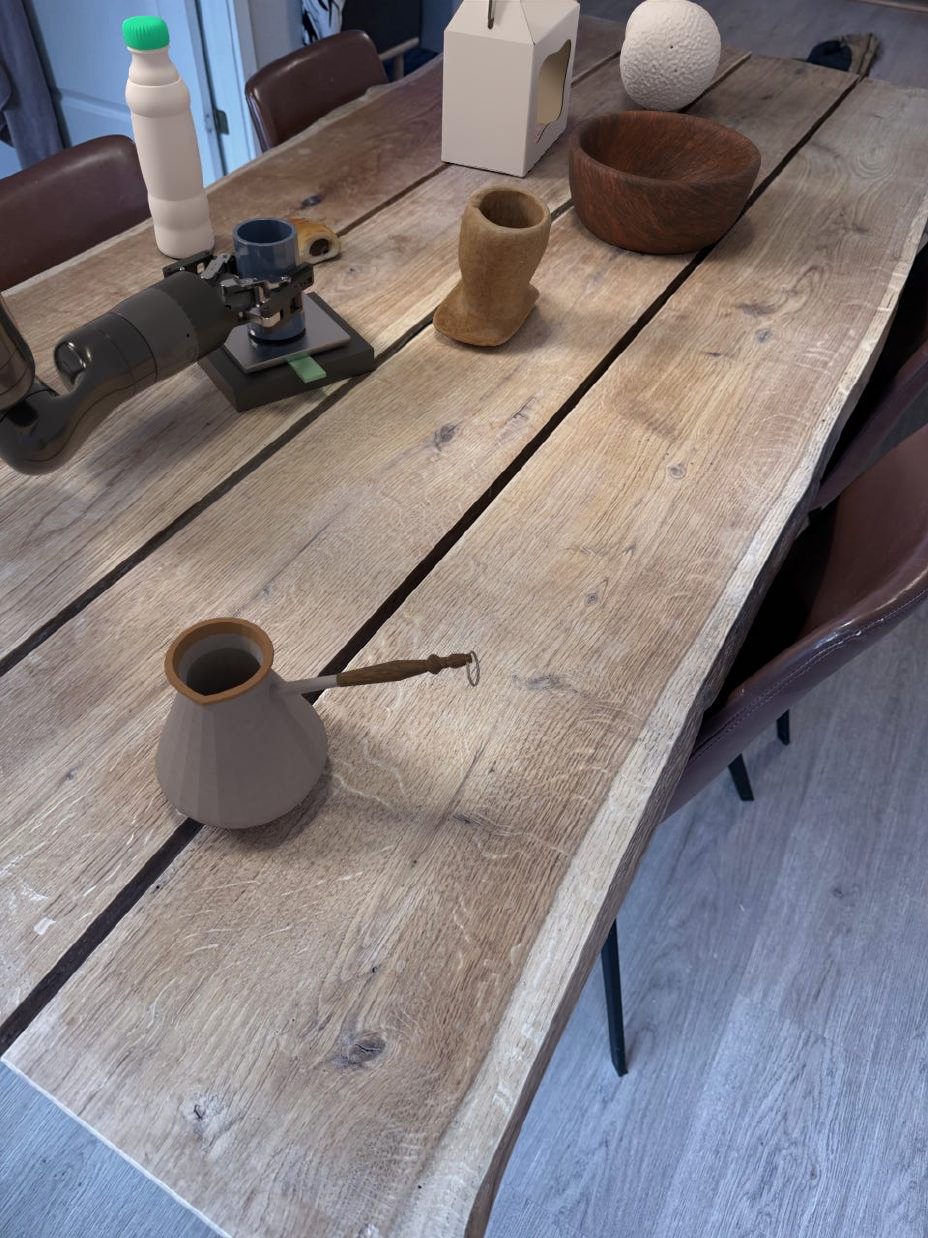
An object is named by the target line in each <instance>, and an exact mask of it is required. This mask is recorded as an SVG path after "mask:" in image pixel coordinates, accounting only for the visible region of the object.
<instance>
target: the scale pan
mask: <svg viewBox="0 0 928 1238" xmlns="http://www.w3.org/2000/svg"><path fill="white" fill-rule="evenodd" d="M303 299H304V309H305V321H306V325H305V328H304V329H303V331H302V332H301V333H299V334H298V335H296V336H293V337H291V338H287V339H282V340H266V339H261V338H258V337H256V336H254V335H252V334H251V333H250V332H249V331H248V330H247V328H246V324H245V325H241V326H237V327H235V328H233V329H232V331H231V333H230V334H229V336H228V338H227V341H226V342H225V344H224V345H223V346H222V347H223V348H224V349H225V350H226V352H227V353H228V354H229V355H230V356H231V357H232V359H233V360H234V361H235V362H236V363H237V364H238V366H239V367H240V368H241V369H242V370H243V371H244V373H245V374H248V373H252V372H255V371H259V370H262V369H265V368H269V367H272V366H275V365H279V364H282V363H285V362H289V361H292V360H295V359H299V358H302V357H305V356H309V355H312V354H315V353H319V352H322V351H325V350H329V349H332V348H336V347H339V346H342V345H346V344H349V343H351V340H350V336H349V335H348V334H347V333H346V332H345V331H344V330H343V329H342V328H341V327H340V326H339V325H338V324H337V323H336V322H335V321H334V320H333V319H332V318H330V317H329V316H328V315H327V314H326V313H325V312H324V311H323V310H322V309H321V308H320V307H319V306H318V305H317V304H316V303H315V302H314V301H313V300H312V299H311V298H310V297H309V296H308V295H307V294H306V292H305V291H303Z"/></svg>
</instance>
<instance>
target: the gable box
mask: <svg viewBox="0 0 928 1238" xmlns="http://www.w3.org/2000/svg"><path fill="white" fill-rule="evenodd" d="M580 10H581V4H580V3H579V1H578V0H462V2H461V4H460V6H459V7H458V9H457V10H456V12H455V13H454V15H453V17H452V18H451V20H450V21H449V23H448V24H447V26H446V27H445V28H444V29H443V30H444V31H443V66H442V67H443V69H442V70H443V71H442V74H443V75H442V115H441V116H442V119H441V122H442V123H441V157H440V159H441V161H442V162H443V161H446V162H450V163H455V164H456V163H457V164H464V165H471V166H477V167H485V168H488V169H493V170H498V171H502V172H506V173H510V174H514V175H519V176H522V177H523V176H524V177H526V176H527V174H528V173H529V172H530V171H531V169H532V168H534V166H535V165H536V164H537V163H538V161H539V160H541V158H542V157H543V156H544V155H545V154H546V152H547V151H548V150H549V149H550V148H551V147H552V145H553V144H554V143H555V142H556V141H557V139H558V138H559V137H560V136H561V135H562V134H563V132H564V131H565V130H566V129H567V122H568V113H569V104H570V98H571V97H570V96H571V87H572V79H573V72H574V62H575V55H576V54H575V53H576V46H577V45H576V44H577V37H578V29H579V19H580ZM536 122H538V123H544V124H547V125H546V126H545V128H544V129H543V131H542V133H541V135H540V136H539V137H538V136H537V135H536V136H537V138H539V139H538V141H537V142H536V143H535V140H534V138H535V128H536ZM565 128H566V129H565ZM564 129H565V130H564ZM563 130H564V131H563ZM561 133H562V134H561ZM560 134H561V135H560ZM559 135H560V136H559ZM558 136H559V137H558ZM555 140H556V141H555ZM554 141H555V142H554ZM553 142H554V143H553ZM552 143H553V144H552ZM551 144H552V145H551ZM548 148H549V149H548ZM547 149H548V150H547ZM546 150H547V151H546ZM545 151H546V152H545ZM542 155H543V156H542ZM541 156H542V157H541ZM540 157H541V158H540ZM450 163H449V164H450ZM535 163H536V164H535ZM455 164H454V165H455ZM534 164H535V165H534ZM529 170H530V171H529ZM528 171H529V172H528ZM524 177H523V178H524Z"/></svg>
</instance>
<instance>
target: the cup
mask: <svg viewBox="0 0 928 1238" xmlns="http://www.w3.org/2000/svg"><path fill="white" fill-rule="evenodd" d="M286 220H287V219H283V218H277V217H268V216H267V217H266V216H265V217H254V218H250V219H246V220H243V221H241V222H239V223H238V224H236V225H235V226H234V227H233V229H232V230H231V232H232V233H231V234H232V235H231V236H232V241H233V242H232V243H233V249H234V252H235V256H236V263H237V270H238V276H239V277H238V276H237V277H238V278H240V279H245V278H249V277H254V276H258V275H263V276H264V277H265V278H267V279H268V278H273V277H277V276H282V275H283V274H284V273H286V272H288V271H289V270H291V269H293V268H295V267H296V266H298V265H300V257H299V247H298V237H297V228H296V227H295V226H294V225H293V224H292V223H291V222H288V221H286ZM254 290H255V297H256V304H255V305H257V304H259V303H260V293H259V287H257V288H254ZM279 292H280V288H279V287H277V288H273V289H271V291H270V293H271V297H273V296H275V295H276V294H277V293H279ZM303 292H304V291H302V302H303V310H302V311H301V312H300V313H299V314H297V315H296V316H295V317H294V318H292V319H291V320H290V321H289V322H287V323H286V324H285V325H284V326H282V327H281V328H280V329H278V330H277V331H276V332H275V333H273V334H264V333H263V330H262V325H261V324H258V323H254V322H249V323H248V324H246V328H247V330H248V331H249V332H250V333H251V334H252V335H254V336H256V337H258V338H261V339H266V340H282V339H287V338H291V337H293V336H296V335H298V334H299V333H301V332H302V331H303V329H304V328H305V325H306V321H305V309H304V299H303Z"/></svg>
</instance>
